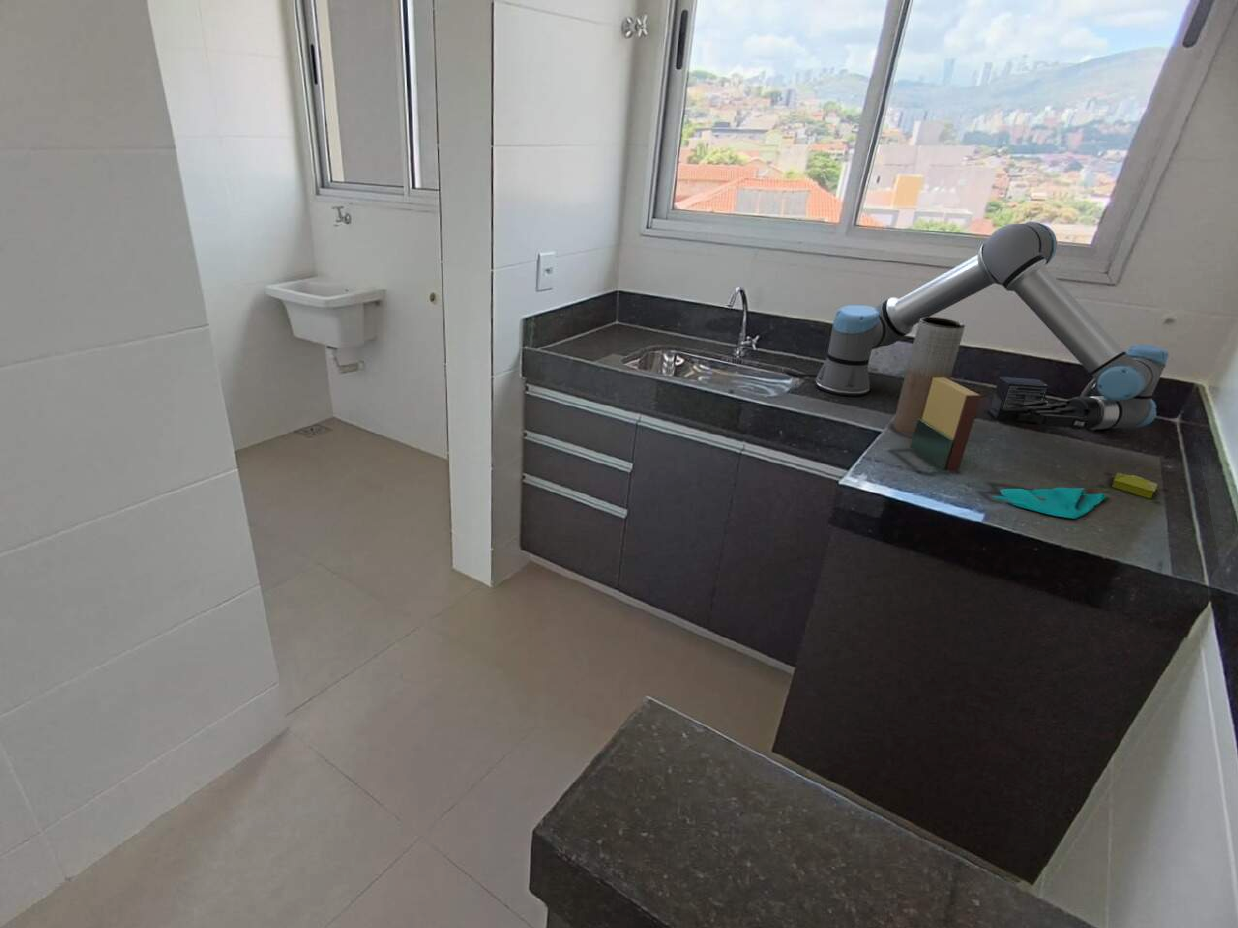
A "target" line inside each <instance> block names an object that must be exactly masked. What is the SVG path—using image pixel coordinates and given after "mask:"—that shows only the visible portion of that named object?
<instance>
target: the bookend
mask: <svg viewBox="0 0 1238 928" xmlns="http://www.w3.org/2000/svg"><path fill="white" fill-rule="evenodd" d="M952 443H953V439H951V438H950V437H948V436H947V435H945V434H943V433H942V432H940V431H939V430H937V429H936V428H934V427H932V426H931V425H929V424H928V423H926V422H924V421H923V420H921V419H918V421H917V425H916V429H915V432H914V435H913V437H912V440H911V444H910V448H911V449H912V450H913V451H915V452H916V453H918V454H919V455H921V456H922V458H925V459H926V460H928V461H929V462H930V463H932V464H933V465H934V466H936V467H937V468H939V469H940V470H942V471H945V466H946V463H947V460H948V456H949V453H950V450H951V446H952Z"/></svg>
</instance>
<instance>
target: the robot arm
mask: <svg viewBox="0 0 1238 928" xmlns="http://www.w3.org/2000/svg"><path fill="white" fill-rule="evenodd" d="M1057 249H1058V240H1057V236H1056V234H1055V232H1054V230H1052V229H1051V228H1050V227H1049V226H1048V225H1046V224H1044V223H1040V222H1036V221H1030V222H1029V221H1028V222H1026V223H1010V224H1005V225H1003V226H1001V227H999V228H997V229H995V231H993V232H992V233H991V234H990V235H989V237H987V239H986V241H985V243H984V244H982V245H981V246H980V248H979V251H978V253H977V254H976V255H975V256H973V257H971V258H969V259H967V260H965V261H964V262H962V263H960V264H958V265H957V266H955V267H953V268H951V269H950V270H948V271H946V272H945V273H942V274H941V275H939V276H937V277H935V278H934V279H932V280H931V281H928V282H926V283H925V284H923V285H921V286H919V287H918V288H916V289H914V290H912V291H911V292H909V293H907V294H906V295H904V296H902V297H900V298H899V297H895V296H891V297H889V298H888V299H886V300H884V301H883V302H881V303H878V304H877V305H875V306H868V305H864V304H854V305H853V304H850V305H845V306H842V307H840V308H839V309H837V311H836V312H835V314H834V315H835V316H834V319H833V321H832V328H831V334H830V339H829V343H828V349H827V355H826V359H825V361H824V363H823V364H822V366H821V368H820V369H819V372H818V373H797V372H793V371H790V370H786V372H785V374H787V375H790V376H792V377H793V376H794V377H799V378H815V382H814V385H815V387H816V388H818V389H819V390H820V391H823V392H826V393H829V394H833V395H837V396H844V397H861V396H866V395H867V394H869V392H870V388H871V387H870V385H871V384H870V383H871V382H870V375H869V374H870V373H869V361H870V359H871V353H872V350H875V349H879V348H883V347H888V346H893V345H894V344H895V343H897V342H898V341H899V340H901V339H902V338H903V337H905V336H907V335H909V334H910V333H912V331H913V329H914V327H915V325H918V324H919V320H920V319H921V318H924V317H933V316H935V315H937V314H938V313H940V312H942V311H944V310H946V309H948V308H950V307H951V306H953V305H955V304H957V303H959V302H961V301H963V300H966V299H967V298H969V297H971V296H973V295H974V294H977V293H978V292H980V291H982V290H984V289H986V288H988V287H990V286H992V285H994V284H996V285H999V286H1002V287H1003V288H1004V289H1005V290H1006V291H1008V292H1014V293H1015V294H1016V295H1017V296H1018V298H1020V300H1022V301H1023V302H1024V303H1025V305H1027V307H1028V308H1029V309H1030V310H1031V311H1032V312H1033V313H1034V314H1035V316H1036V317H1038V320H1040V321H1041V322H1042V323H1043V324H1044V325H1045V326H1046V328H1047V329H1048V330H1049V331H1050V332H1051V333H1052V334H1053V335H1054V336H1055V337H1056V338H1057V339H1058V340H1059V341H1060V343H1061V344H1062V345H1063V346H1064V347H1065V348H1066V349H1067V350H1068V351H1069V352H1070V354H1071V355H1072V356H1073V357H1074V358H1075V359H1076V360H1077V361H1078V362H1079V363H1080V364H1081V366H1082V367H1083V368H1084V369H1085V370H1086V371H1087V372H1088V373H1089V374H1090V375H1091V377H1092V378H1093V379H1094V378H1095V380H1096V381H1097V388H1098V391H1099V393H1100V394H1101V395H1102V396H1095V397H1079V396H1074V397H1071V398H1070V399H1067V401H1066V402H1056V403H1055V402H1054V403H1049V401H1048V400H1047V399H1046V398H1045V399H1041V400H1040V401H1034V402H1027V403H1020V404H1019V406H1018V408H1000V410H999V413H998V416H997V419H996V421H999V422H1001V423H1003V422H1004V423H1005V422H1006V423H1007V422H1022V421H1028V422H1027V423H1030V424H1031V423H1032V424H1033V423H1035V422H1036V423H1035V425H1036V426H1041V427H1042V426H1043V427H1055V428H1068V429H1072V430H1076V431H1077V430H1090V431H1095V430H1096V429H1099V430H1104V429H1125V430H1130V429H1137V428H1138V429H1139V428H1143V427H1146V426H1148V425H1150V424H1151V423H1152V422H1153V421H1154V420H1155V418H1156V416H1157V405H1156V402H1155V401H1154V400H1153V399H1152V397H1153V394H1154V391H1155V389H1156V387H1157V385H1158V383H1159V380H1160V378H1161V376H1162V374H1163V372H1164V369H1165V368H1166V367H1167V366H1166V365H1167V361H1168V359H1169V354H1170V353H1169V351H1168V350H1166V349H1164V348H1161V347H1159V346H1154V345H1148V344H1133V345H1131V346H1129V348H1128V350H1127V351H1125V350H1124V348H1122V346H1121V345H1120V344H1119V343H1118V342H1117V341H1116V340H1115V339H1114V338H1113V337H1112V336H1111V335H1110V333H1108V331H1107V330H1105V329H1104V327H1103V326H1102V325H1101V324H1100V323H1099V322H1098V321H1097V320H1096V318H1094V317H1093V316H1092V315H1091V314H1090V312H1089V311H1087V309H1085V307H1084V306H1083V305H1082V304H1081V303H1080V302H1079V301H1078V300H1077V299H1076V298H1075V297H1074V295H1072V293H1070V291H1069V290H1068V289H1067V288H1066V287H1065V286H1064V285H1063V284H1062V283H1061V282H1060V280H1058V278H1056V277H1055V275H1053V273H1052V272H1051V271H1049V269H1048V268H1047V267H1046V266H1047V265H1048V264H1050V262H1051V261H1052V260H1053V258H1054V257H1055V254H1056V252H1057Z"/></svg>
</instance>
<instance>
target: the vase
mask: <svg viewBox="0 0 1238 928" xmlns="http://www.w3.org/2000/svg"><path fill="white" fill-rule="evenodd" d="M965 327H966V325H965V324H964V323H963V322H960V321H958V320H954V319H949V318H944V317H936V316H930V317H924V318H921V319H920V320H919V323H917V327H916V332H915V336H914V339H913V342H912V343H913V344H912V348H911V351H910V356H909V360H908V363H907V368H906V371H905V374H904V379H903V383H902V386H901V391H900V394H899V399H898V401H897V407H896V409H895V415H894V419H893V422H892V426H893V428H895V429H896V430H898V431H900V432H902V433H905V434H909V435H913V436H914V432H915V429H916V425H917V421H918V419H921V420H922V417H923V413H924V410H925V406H926V402H927V399H928V395H929V391H930V388H931V384H932V380H933V377H945V378H947V379H949V380H951V377H952V373H953V370H954V366H955V363H956V360H957V356H958V352H959V349H960V346H961V342H962V339H963V334H964V331H965Z"/></svg>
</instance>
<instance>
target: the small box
mask: <svg viewBox="0 0 1238 928" xmlns="http://www.w3.org/2000/svg"><path fill="white" fill-rule="evenodd" d="M997 380H998V381H997V383H996V387H995V390H994V394H993V397H992V400H991V403H990V407H989V410H988V413H989V414H990V415H992V416H993V417H994V418H995V419H996V420H997V416H998V413H999V410H1000V408H1018V406H1019V404H1020V403H1027V402H1034V401H1040V400H1041V399H1046V396H1047V393H1048V390H1049V388H1050V385H1048V384H1047V383H1045V382H1043V380H1040V379H1037V378H1024V377H1023V378H1022V377H1011V376H1010V377H1009V376H999V377H998V379H997ZM1021 422H1023V423H1024V422H1025V423H1029V422H1028V421H1021ZM1034 423H1035V424H1036V422H1034Z"/></svg>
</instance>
